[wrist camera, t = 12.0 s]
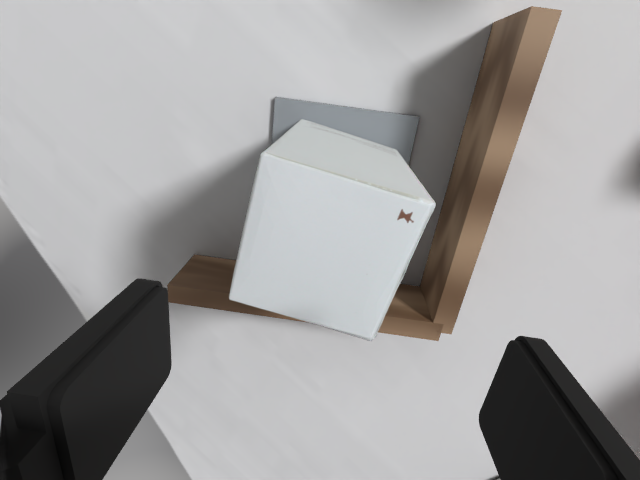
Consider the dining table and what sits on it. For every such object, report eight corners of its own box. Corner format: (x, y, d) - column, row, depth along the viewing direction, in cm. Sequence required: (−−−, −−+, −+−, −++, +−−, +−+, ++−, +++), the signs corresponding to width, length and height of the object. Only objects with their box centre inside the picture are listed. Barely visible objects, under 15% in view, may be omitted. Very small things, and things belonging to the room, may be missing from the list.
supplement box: (299, 115, 25) (259, 143, 13) (399, 149, 25) (445, 203, 14) (273, 211, 28) (222, 301, 16) (363, 239, 28) (376, 347, 17)
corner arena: (433, 303, 30) (448, 342, 26) (194, 269, 31) (168, 302, 26) (517, 25, 22) (562, 10, 17) (188, -18, 22) (147, -45, 18)
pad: (389, 246, 29) (389, 248, 28) (266, 229, 29) (266, 230, 28) (418, 116, 25) (419, 116, 24) (275, 97, 25) (275, 97, 24)
